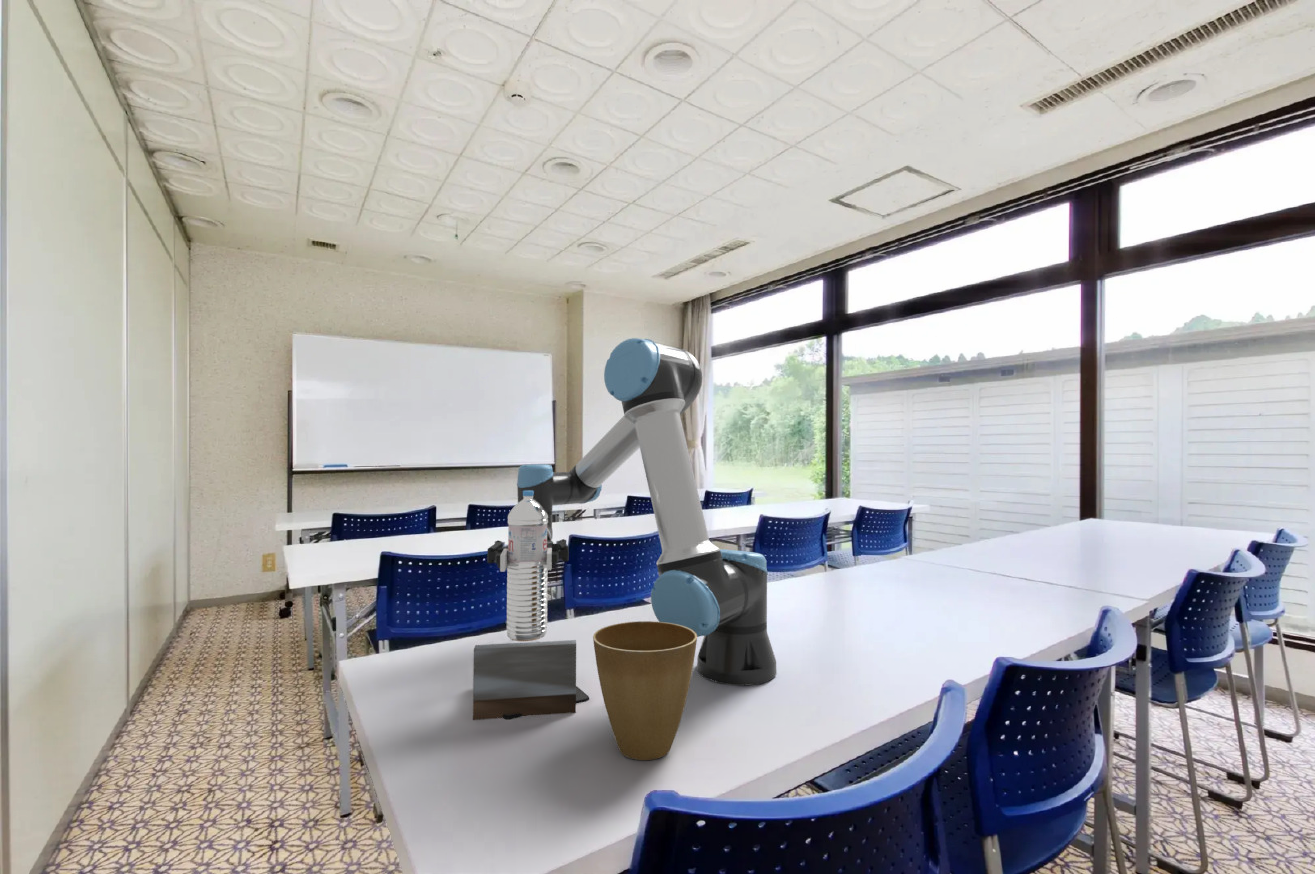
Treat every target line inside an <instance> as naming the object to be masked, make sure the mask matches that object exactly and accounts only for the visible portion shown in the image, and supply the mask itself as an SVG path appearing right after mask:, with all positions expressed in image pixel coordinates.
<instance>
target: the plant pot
mask: <svg viewBox="0 0 1315 874" xmlns="http://www.w3.org/2000/svg"><path fill="white" fill-rule="evenodd" d="M592 639H593V641H592V642H593V648H594V656H595V661H596V663H595V664H596V668H597V675H598V681H599V686H600V690H601V694H602V698H603V703H604V707H605V711H606V713H607V718H608V720H609V721H608V722H609V724H610V727H611V730H612V732H613V736H614V739H615V742H616V744H617V747H618V750H619V751H620V753H621V754H622V755H623V756H625V757H627V758H629V759H633V760H637V761H652V760H657V759H661V758H663V757H664V756H666V755H667V754H668V753H670V751H671V749H672V746H673V744H674V741H675V738H676V736H677V732H678V729H679V727H680V723H681V721H682V720H681V719H682V717H683V714H684V713H683V712H684V709H685V706H686V702H687V698H688V695H689V694H688V693H689V690H690V689H689V688H690V684H691V680H692V673H693V669H694V668H693V667H694V662H695V655H696V649H697V641H698V637H697V634H696V633H695V632H694V631H693V630H692V629H690V628H687V627H685V626H681V625H677V624H673V623H666V622H659V621H653V620H649V621H647V620H646V621H644V620H643V621H638V620H637V621H627V622H619V623H616V624H615V623H614V624H611V625H607V626H604V627H601V628H600V629H598V630H596V631H595V633H594V634H593V636H592Z"/></svg>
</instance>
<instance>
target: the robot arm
mask: <svg viewBox="0 0 1315 874" xmlns="http://www.w3.org/2000/svg"><path fill="white" fill-rule="evenodd" d="M603 380H604V384H605V388H606V391H607V392H608V394H609V395H610V396H613V398H614V399H616V400H617V401H619V402H621V405H622V411H623V414H624V415H623V416H622V417H621V418H620V419H619V420H618V421H617V422H616V423H615V424H614V425H613V427H611V429H610V430H608V432H607V433H606V434H605V435H604V436H603V437H602V438H601V439H600V440H599V441H598V442H597V443H596V444H595V445H594V446H593V447H592V448H591V449H590V450H589V451H588V452H587V453H586V454H585V455H584V456H583V457H582V458H581V459H580V460H579V462H578V463H576V465H574V466H573V467H572V469H570V470H569V471H562V472H561V471H554V470H553V467H552V465H550V464H541V463H540V464H539V463H538V464H522V465H520V466H519V467H518V470H517V472H518V473H517V483H516V486H517V490H516V491H517V503H519V502H520V501H522V500H523V498H524V497H523V491H534V494H533V499H534V500H535V501H537V502H538V503H539V504H540V505H541V506H542V507H543V508H544V509H545V511H546V512H547V514H548V518H547V519H548V523H547V571H552V565H553V564H552V563H559V560H561V561H562V562H569V559H570V558H569V557H570V556H569V553H570V552H569V549H570V548H569V546H568V544H567V539H564V538H563V539H562V538H561V539H560V540H556V541H555V543H554V542H553V507H554V506H562V505H564V506H565V505H574V504H581V505H582V504H586V503H590V502H593V501H595V500H597V499H598V498H599V496H600V494H601V491H602V488H603V486H602V485H603V484H604V483H605V482H606V481H607V479H609V478H610V477H611V476H612V475H613V474H614V473H615V472H616V471H617V470H618V469H619V468H621V467H622V465H624V463H625V462H626V461H627V460H629V459H630V458H631V457H632V456H633V455H634V454H635V453H636V452H637V451H638V450H640V456H641V460H642V464H643V467H644V472H645V473H644V474H645V478H646V481H647V486H648V491H649V495H650V500H651V501H650V502H651V504H652V508H653V509H652V510H653V513H654V514H653V515H654V519H655V523H656V526H657V527H656V528H657V532H658V537H659V541H660V547H661V554H660V556H659V557H658V560H657V561H656V568H657V572H658V577H657V578H656V580H655V581H654V583H653V588H651V592H650V602H651V603H650V604H651V607H652V611H653V613H654V616H655V618H656V619H657V622H666V623H673V624H677V625H681V626H685V627H687V628H690V629H692V630H693V631H694V632H695V633H696V634H697V638H699V637H703V639H702V640H701V641H702V642H701V645H700V649H699V651H698V654H697V659H696V660H697V661H696V665H697V667H696V669H697V671H698V674H699V675H700V676H702V677H704V678H705V679H707V680H710V681H712V682H716V683H720V684H724V685H731V686H733V685H734V686H753V685H759V684H764V683H767V682H770V681H771V680H773V679H774V678H775V677H776V675H777V659H776V656H775V653H774V650H773V646H772V644H771V640H770V637H769V635H768V625H767V624H768V570H767V559H766V557H765V556H764V554H762V553H759V552H753V551H746V550H735V549H734V550H733V549H721V548H720V547H718V546H717V545H715V544H714V543H712V542H711V540H710V538H709V534H708V530H707V529H708V528H707V525H706V521H705V516H704V512H703V508H702V504H701V499H700V495H699V491H698V486H697V483H696V477H695V474H694V469H693V465H692V461H691V457H690V452H689V448H688V444H687V440H686V435H685V432H684V427H683V423H682V419H681V416H682V414H684V413H685V412H686V410H688V409H689V407H691V405H693V403H694V401H695V400H696V399H697V397H698V395H699V394H700V390H701V387H702V384H703V372H702V367H701V365H700V363H699V361H698V360H697V358H696V357H695V356H694V355H693V354H692V353H691V352H689V351H688V350H686V349H683V348H681V347H676V346H673V345H668V344H663V343H659V342H655V341H653V340H652V339H649V338H645V339H643V338H638V337H634V338H633V337H632V338H627V339H626V340H623V341H622V342H619V344H617V345H616V346H615V347H614V349H613V350H612V351H611V352H610V355H609V358H608V359H607V360H606V363H605V366H604V372H603ZM486 557H487V558H486V560H487V561H486V562H487V564H493V563H495V565H497V568H498V569H499V572H503V573H504V572H506V571H507V567H508V566H507V561H508V544H506V542H505V541H502V540H495V541H494V544H492V545H491V546H489V547H488V548H487V556H486Z"/></svg>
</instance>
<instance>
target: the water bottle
mask: <svg viewBox="0 0 1315 874" xmlns="http://www.w3.org/2000/svg"><path fill="white" fill-rule="evenodd" d="M533 494H534V491H523V497H524V498H523V500H522V501H520V502H519V503H518V502H517V504H515V505H514V506H513V507H512V509H511V510H510V511H509V513H508V514H507V525H508V536H507V537H508V538H507V539H508V540H507V545H508V561H507V568H506V572H507V573H506V574H507V575H506V576H507V577H506V592H507V593H506V634H507V635H506V636H507V637H508V639H510V640H512V641H515V642H534V641H538V640H540V639H542V638H544V637H545V636H546V634H547V631H548V628H547V627H548V574H549V573H548V571H549V570H547V523H548V519H547V518H548V514H547V512H546V511H545V509H544V508H543V507H542V506H541V505H540V504H539V503H538V502H537V501H535V500H534V499H533Z"/></svg>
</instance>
